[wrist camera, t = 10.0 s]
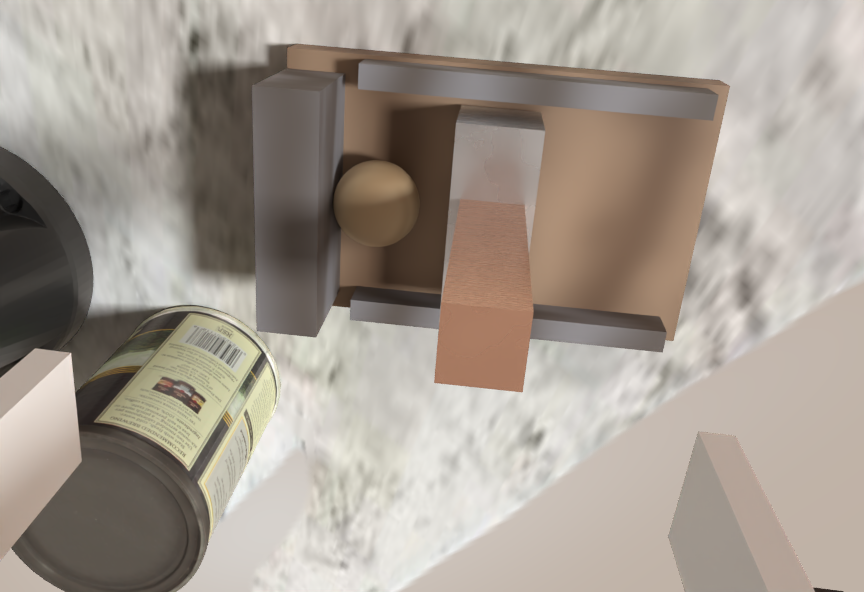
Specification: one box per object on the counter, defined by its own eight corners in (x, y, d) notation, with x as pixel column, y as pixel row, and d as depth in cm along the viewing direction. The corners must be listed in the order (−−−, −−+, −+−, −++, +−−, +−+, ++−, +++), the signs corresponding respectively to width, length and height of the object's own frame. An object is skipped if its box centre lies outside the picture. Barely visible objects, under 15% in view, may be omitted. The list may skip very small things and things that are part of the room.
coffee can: (130, 435, 52) (5, 592, 39) (119, 295, 48) (-23, 419, 35) (281, 455, 51) (206, 620, 39) (284, 315, 47) (201, 448, 34)
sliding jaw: (445, 287, 43) (413, 466, 28) (461, 104, 39) (433, 197, 24) (517, 294, 43) (524, 478, 28) (540, 111, 39) (564, 209, 24)
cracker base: (296, 287, 46) (257, 348, 39) (296, 43, 41) (251, 61, 33) (666, 325, 45) (697, 395, 38) (719, 80, 40) (768, 107, 32)
